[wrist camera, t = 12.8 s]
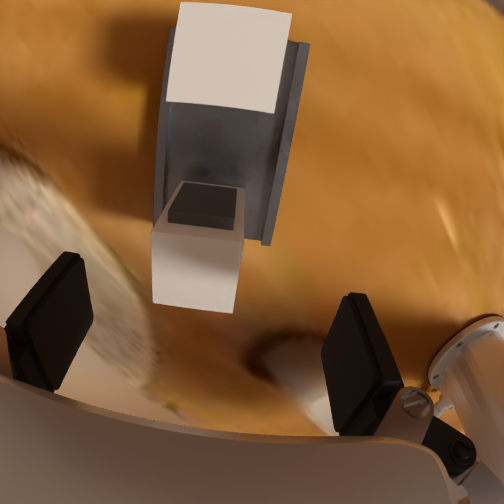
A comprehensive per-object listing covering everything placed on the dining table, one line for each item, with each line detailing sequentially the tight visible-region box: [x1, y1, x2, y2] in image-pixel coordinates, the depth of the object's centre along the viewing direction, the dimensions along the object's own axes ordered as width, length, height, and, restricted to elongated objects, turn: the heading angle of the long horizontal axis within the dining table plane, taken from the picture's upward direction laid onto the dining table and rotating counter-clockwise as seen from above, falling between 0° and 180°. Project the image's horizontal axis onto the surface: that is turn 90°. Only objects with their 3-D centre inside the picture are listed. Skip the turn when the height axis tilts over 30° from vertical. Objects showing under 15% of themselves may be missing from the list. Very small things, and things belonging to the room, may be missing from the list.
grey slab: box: [153, 27, 310, 246], centre depth 18 cm, size 13×8×2 cm, turn 171°
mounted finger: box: [166, 2, 292, 123], centre depth 13 cm, size 5×4×7 cm
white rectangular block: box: [151, 180, 245, 313], centre depth 17 cm, size 5×4×7 cm
